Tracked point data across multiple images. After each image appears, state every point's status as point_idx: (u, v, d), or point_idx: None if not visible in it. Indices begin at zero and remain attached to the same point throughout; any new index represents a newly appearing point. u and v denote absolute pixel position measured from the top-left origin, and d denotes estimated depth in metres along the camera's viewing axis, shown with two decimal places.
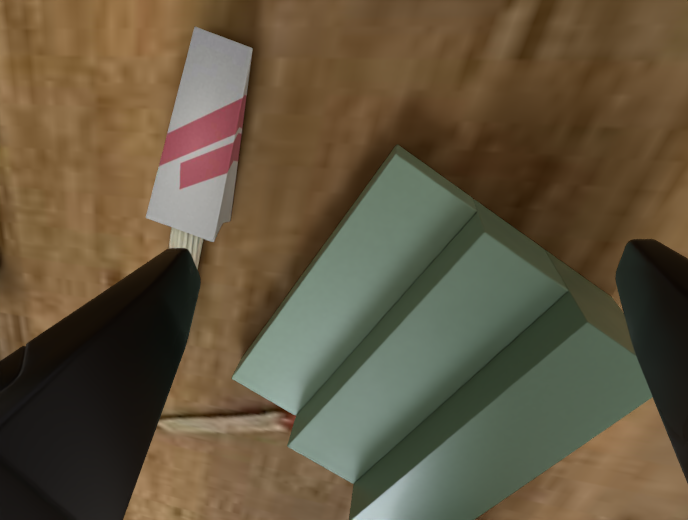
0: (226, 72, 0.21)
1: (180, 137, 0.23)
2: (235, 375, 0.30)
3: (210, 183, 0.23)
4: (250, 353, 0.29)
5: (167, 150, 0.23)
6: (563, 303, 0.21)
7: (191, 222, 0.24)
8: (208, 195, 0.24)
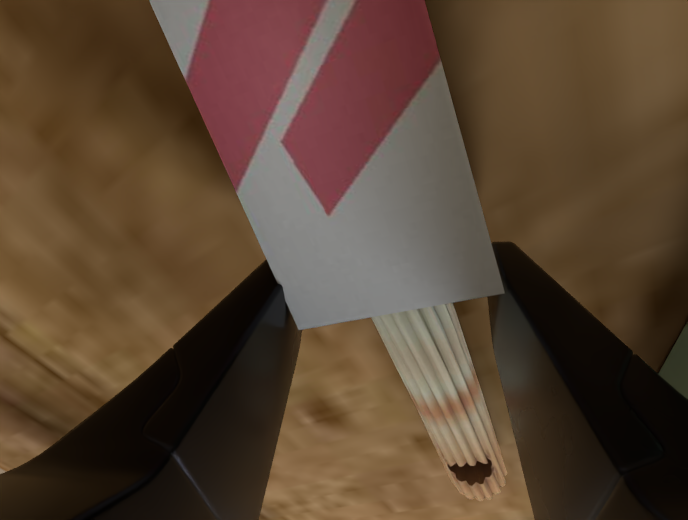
0: None
1: (226, 57, 0.06)
2: None
3: (405, 137, 0.06)
4: None
5: (223, 131, 0.07)
6: None
7: (413, 279, 0.08)
8: (420, 177, 0.07)
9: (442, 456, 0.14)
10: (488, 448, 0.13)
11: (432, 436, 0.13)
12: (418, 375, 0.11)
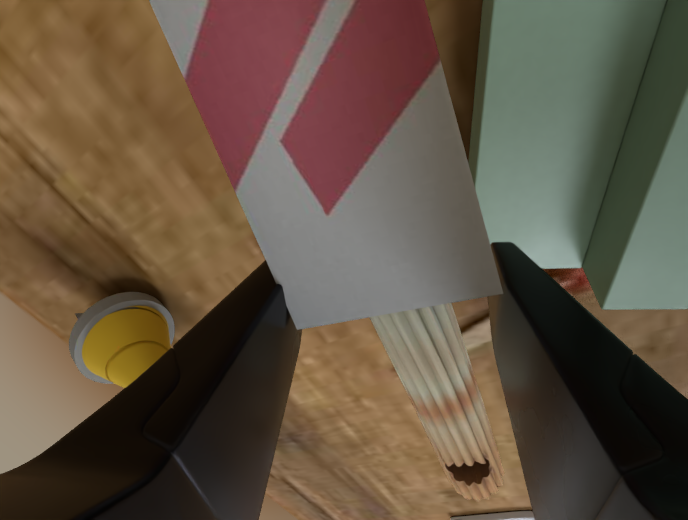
0: None
1: (225, 56, 0.06)
2: None
3: (405, 137, 0.06)
4: None
5: (222, 130, 0.07)
6: None
7: (412, 279, 0.08)
8: (419, 177, 0.07)
9: (440, 456, 0.14)
10: (485, 448, 0.13)
11: (430, 436, 0.13)
12: (416, 375, 0.11)
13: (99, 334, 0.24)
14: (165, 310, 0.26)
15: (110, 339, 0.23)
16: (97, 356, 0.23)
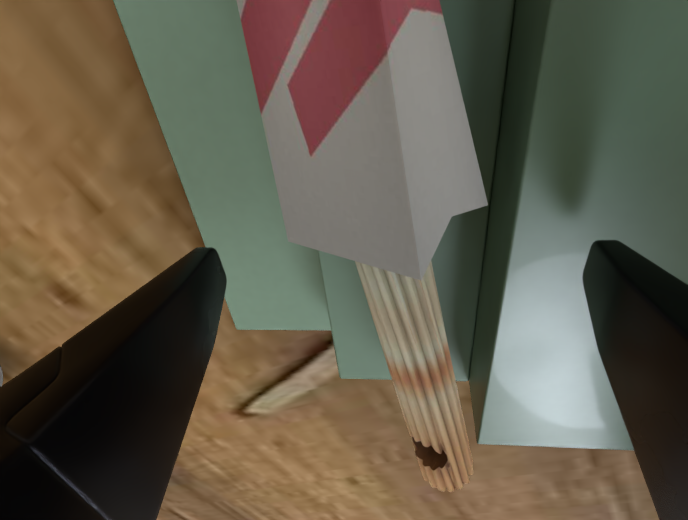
0: None
1: (262, 10, 0.08)
2: (236, 323, 0.21)
3: (361, 111, 0.08)
4: None
5: (256, 65, 0.09)
6: None
7: (359, 235, 0.09)
8: (369, 149, 0.08)
9: None
10: (443, 440, 0.14)
11: None
12: (382, 332, 0.12)
13: None
14: None
15: None
16: None
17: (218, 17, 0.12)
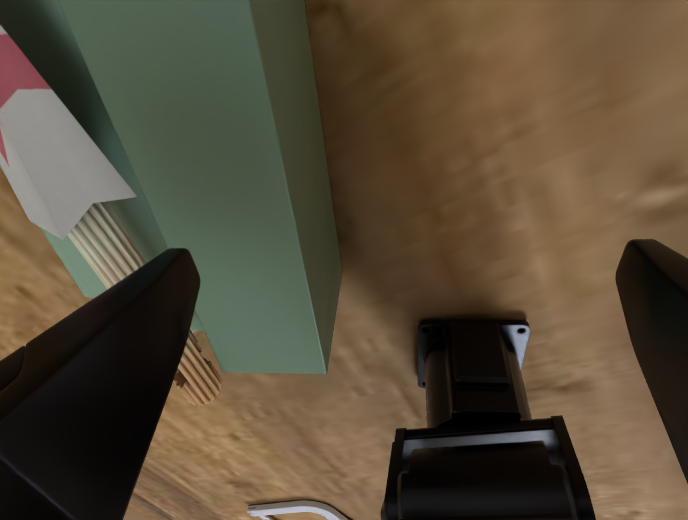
0: None
1: None
2: (83, 292, 0.27)
3: (6, 143, 0.14)
4: (63, 262, 0.25)
5: None
6: None
7: (40, 214, 0.15)
8: (17, 164, 0.14)
9: None
10: None
11: None
12: (104, 282, 0.18)
13: None
14: None
15: None
16: None
17: None
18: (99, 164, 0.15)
